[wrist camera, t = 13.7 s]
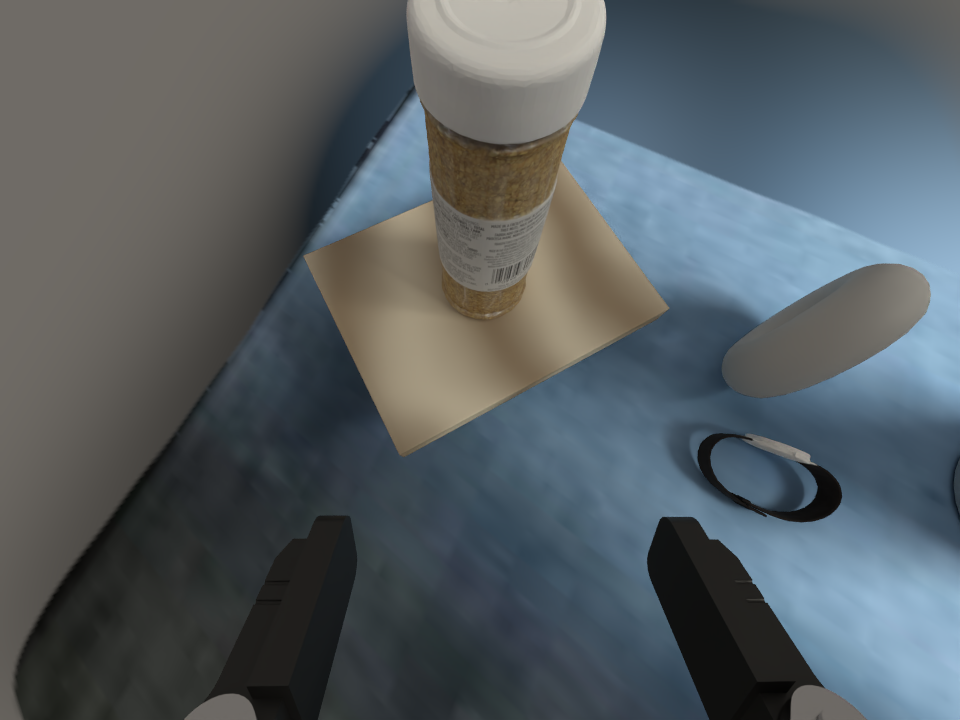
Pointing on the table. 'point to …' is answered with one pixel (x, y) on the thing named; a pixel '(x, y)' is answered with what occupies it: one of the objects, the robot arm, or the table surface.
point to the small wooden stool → (468, 341)
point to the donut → (828, 331)
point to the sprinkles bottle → (498, 130)
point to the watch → (826, 482)
